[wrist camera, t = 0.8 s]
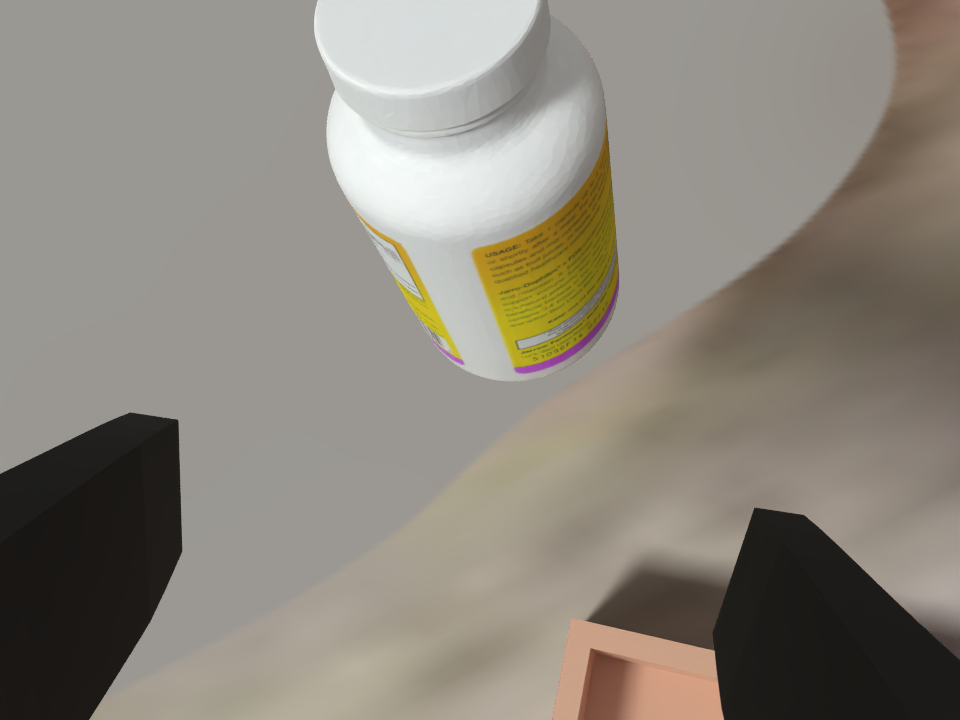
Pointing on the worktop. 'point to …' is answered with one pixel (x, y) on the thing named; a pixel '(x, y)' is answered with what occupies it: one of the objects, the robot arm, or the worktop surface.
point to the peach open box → (634, 677)
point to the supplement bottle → (478, 173)
